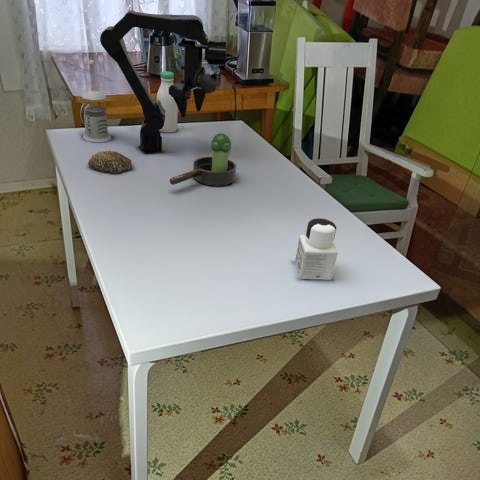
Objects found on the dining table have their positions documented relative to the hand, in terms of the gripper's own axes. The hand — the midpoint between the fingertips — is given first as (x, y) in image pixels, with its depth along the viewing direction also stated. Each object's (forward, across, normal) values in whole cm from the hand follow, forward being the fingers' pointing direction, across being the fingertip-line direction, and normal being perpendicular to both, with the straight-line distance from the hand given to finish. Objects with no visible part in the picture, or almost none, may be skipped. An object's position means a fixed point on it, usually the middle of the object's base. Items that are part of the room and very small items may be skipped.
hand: (191, 114), depth 172 cm
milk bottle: (+13, +14, +19) cm, 27 cm away
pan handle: (+10, -26, -15) cm, 31 cm away
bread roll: (+13, -27, +12) cm, 32 cm away
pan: (+13, -13, -18) cm, 26 cm away
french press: (+13, -10, +32) cm, 37 cm away
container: (+13, -46, -64) cm, 80 cm away
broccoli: (+12, -14, -19) cm, 27 cm away
